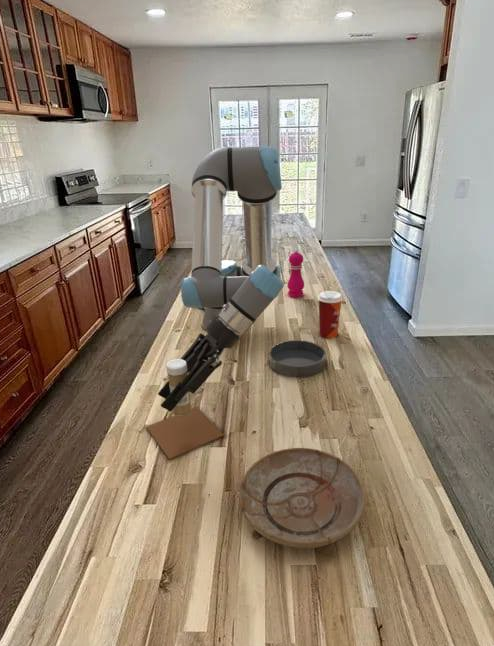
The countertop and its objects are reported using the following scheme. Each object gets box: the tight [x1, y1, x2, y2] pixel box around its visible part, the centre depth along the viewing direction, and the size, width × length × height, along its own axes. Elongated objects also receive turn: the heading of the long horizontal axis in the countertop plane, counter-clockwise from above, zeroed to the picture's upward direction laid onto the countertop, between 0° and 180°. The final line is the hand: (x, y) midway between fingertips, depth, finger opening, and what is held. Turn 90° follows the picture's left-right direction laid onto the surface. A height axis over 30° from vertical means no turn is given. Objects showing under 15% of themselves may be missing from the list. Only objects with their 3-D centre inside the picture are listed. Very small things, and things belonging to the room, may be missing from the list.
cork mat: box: [146, 406, 225, 461], centre depth 106 cm, size 14×14×1 cm
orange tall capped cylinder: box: [317, 290, 343, 339], centre depth 149 cm, size 8×8×15 cm
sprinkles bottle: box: [165, 358, 193, 417], centre depth 100 cm, size 5×5×14 cm
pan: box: [268, 339, 326, 378], centre depth 134 cm, size 17×17×4 cm
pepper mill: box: [286, 249, 305, 298], centre depth 183 cm, size 7×7×20 cm
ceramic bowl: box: [238, 447, 366, 549], centre depth 83 cm, size 23×24×5 cm
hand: (164, 402), depth 100 cm, fingers closed on sprinkles bottle, 4 cm apart
